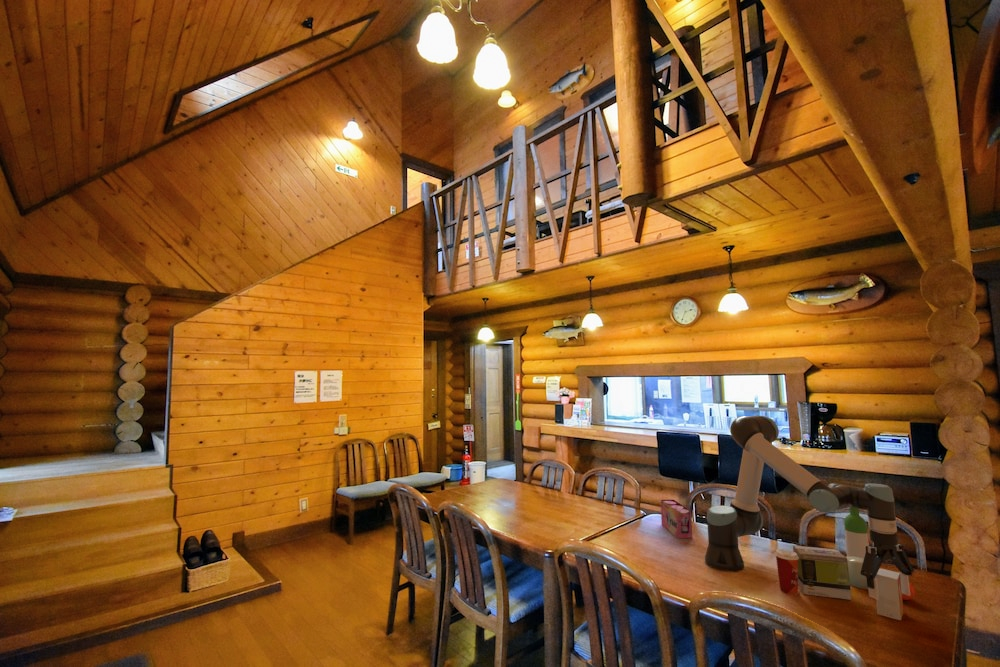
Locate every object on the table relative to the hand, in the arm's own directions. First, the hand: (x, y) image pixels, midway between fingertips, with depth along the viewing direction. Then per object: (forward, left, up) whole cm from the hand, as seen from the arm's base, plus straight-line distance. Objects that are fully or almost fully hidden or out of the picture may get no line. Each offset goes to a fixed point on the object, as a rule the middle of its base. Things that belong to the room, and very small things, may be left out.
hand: (889, 596), depth 152 cm
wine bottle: (+27, +32, -6) cm, 42 cm away
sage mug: (+13, +20, -6) cm, 25 cm away
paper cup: (-20, +21, -6) cm, 30 cm away
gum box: (-19, +93, -6) cm, 95 cm away
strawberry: (+15, +7, -6) cm, 18 cm away
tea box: (-8, +18, -6) cm, 21 cm away
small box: (0, 0, -6) cm, 6 cm away
